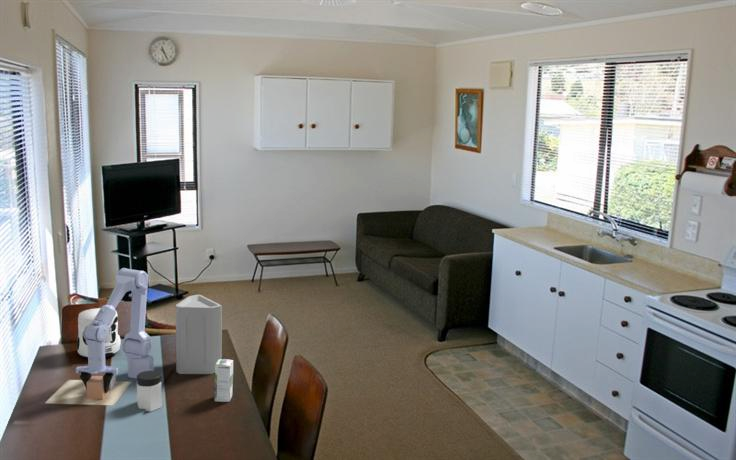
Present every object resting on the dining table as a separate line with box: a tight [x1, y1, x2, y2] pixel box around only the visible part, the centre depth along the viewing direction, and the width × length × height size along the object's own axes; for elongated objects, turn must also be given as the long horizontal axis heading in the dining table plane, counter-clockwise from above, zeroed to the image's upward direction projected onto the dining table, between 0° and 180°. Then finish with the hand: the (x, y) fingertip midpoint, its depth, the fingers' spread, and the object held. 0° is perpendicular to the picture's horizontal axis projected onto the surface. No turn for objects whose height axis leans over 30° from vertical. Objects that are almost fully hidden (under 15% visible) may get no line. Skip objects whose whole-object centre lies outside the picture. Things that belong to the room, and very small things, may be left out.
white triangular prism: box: [175, 294, 223, 375], centre depth 268 cm, size 19×15×28 cm
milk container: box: [76, 307, 122, 359], centre depth 279 cm, size 17×17×18 cm
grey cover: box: [94, 373, 117, 390], centre depth 247 cm, size 6×6×6 cm
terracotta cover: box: [87, 375, 108, 400], centre depth 239 cm, size 6×6×6 cm
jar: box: [136, 370, 163, 412], centre depth 235 cm, size 9×8×12 cm
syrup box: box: [213, 358, 234, 403], centre depth 243 cm, size 6×6×14 cm
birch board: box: [44, 379, 132, 406], centre depth 243 cm, size 24×20×1 cm
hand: (97, 391), depth 240 cm, fingers closed on terracotta cover, 6 cm apart
